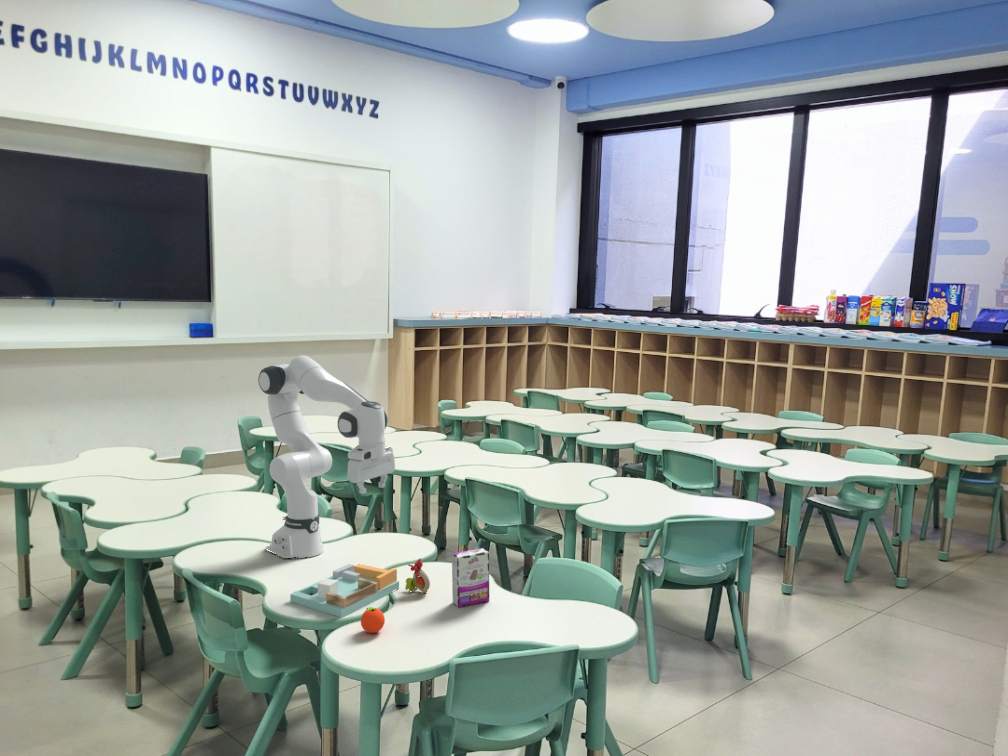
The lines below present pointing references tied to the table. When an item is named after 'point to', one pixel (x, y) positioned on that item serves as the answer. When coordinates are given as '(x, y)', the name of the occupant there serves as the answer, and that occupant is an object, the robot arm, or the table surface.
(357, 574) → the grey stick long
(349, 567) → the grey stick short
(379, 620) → the clementine
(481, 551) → the candy bar box
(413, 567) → the bird rattle
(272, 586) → the table surface
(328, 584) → the cube
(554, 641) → the table surface
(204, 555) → the table surface
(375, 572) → the rake
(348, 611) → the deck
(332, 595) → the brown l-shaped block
